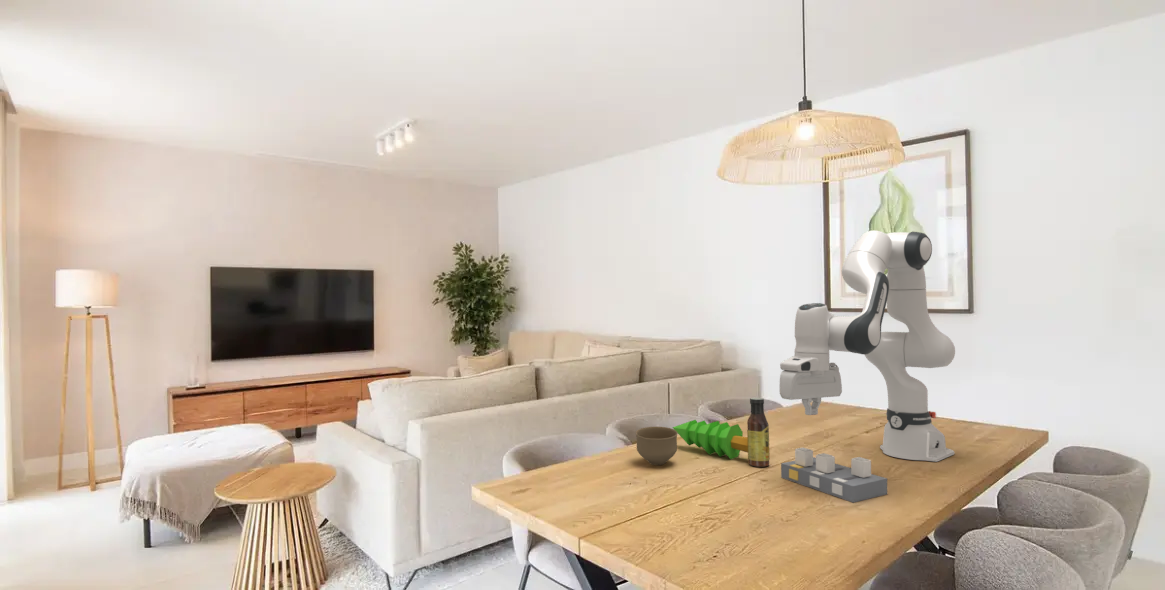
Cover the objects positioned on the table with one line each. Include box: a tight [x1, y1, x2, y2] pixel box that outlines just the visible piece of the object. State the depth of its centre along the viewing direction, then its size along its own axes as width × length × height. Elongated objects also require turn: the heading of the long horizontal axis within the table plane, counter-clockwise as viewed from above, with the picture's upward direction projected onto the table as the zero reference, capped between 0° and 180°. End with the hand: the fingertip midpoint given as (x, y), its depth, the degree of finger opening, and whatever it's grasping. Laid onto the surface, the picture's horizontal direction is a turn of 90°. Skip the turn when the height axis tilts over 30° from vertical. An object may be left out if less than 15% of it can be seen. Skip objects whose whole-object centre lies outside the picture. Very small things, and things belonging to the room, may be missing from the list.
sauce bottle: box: [746, 397, 771, 468], centre depth 178 cm, size 7×6×20 cm
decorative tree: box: [671, 419, 748, 460], centre depth 191 cm, size 11×12×30 cm
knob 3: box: [850, 456, 872, 478], centre depth 153 cm, size 3×4×4 cm
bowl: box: [635, 426, 679, 466], centre depth 179 cm, size 13×13×10 cm
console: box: [780, 456, 888, 504], centre depth 158 cm, size 13×23×4 cm, turn 28°
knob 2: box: [815, 453, 836, 473], centre depth 157 cm, size 3×4×4 cm
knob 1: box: [794, 447, 814, 467], centre depth 163 cm, size 3×4×4 cm
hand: (811, 414), depth 160 cm, fingers closed
